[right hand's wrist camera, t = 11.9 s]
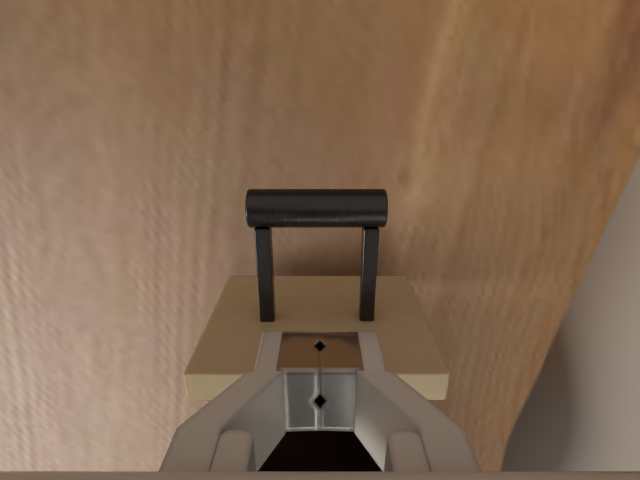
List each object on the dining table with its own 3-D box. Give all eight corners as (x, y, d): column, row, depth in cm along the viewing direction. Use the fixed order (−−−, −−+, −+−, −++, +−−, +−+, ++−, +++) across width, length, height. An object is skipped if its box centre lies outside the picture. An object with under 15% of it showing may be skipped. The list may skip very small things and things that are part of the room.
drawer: (218, 168, 19) (157, 219, 12) (415, 168, 19) (473, 218, 12) (247, 465, 26) (219, 608, 19) (389, 465, 26) (415, 608, 19)
